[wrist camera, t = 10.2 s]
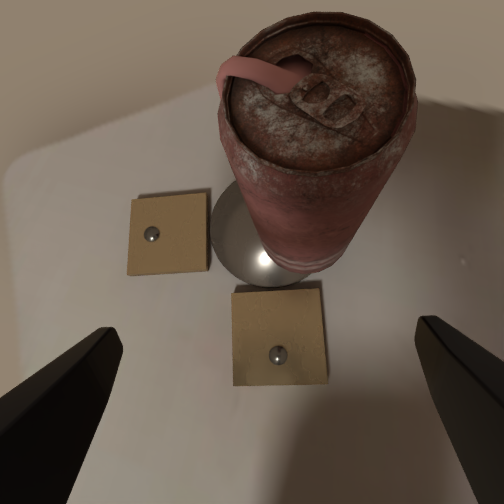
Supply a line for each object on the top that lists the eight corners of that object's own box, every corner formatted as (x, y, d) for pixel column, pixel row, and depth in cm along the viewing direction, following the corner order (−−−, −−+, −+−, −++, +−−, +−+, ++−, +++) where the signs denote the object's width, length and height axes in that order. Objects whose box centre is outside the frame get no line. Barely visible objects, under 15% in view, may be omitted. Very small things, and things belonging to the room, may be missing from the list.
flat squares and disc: (351, 382, 20) (353, 383, 19) (124, 387, 22) (118, 388, 21) (327, 166, 24) (328, 161, 23) (136, 185, 26) (132, 181, 25)
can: (266, 186, 24) (226, -5, 10) (353, 199, 22) (440, 1, 9) (249, 265, 22) (177, 166, 9) (341, 282, 21) (419, 197, 8)
